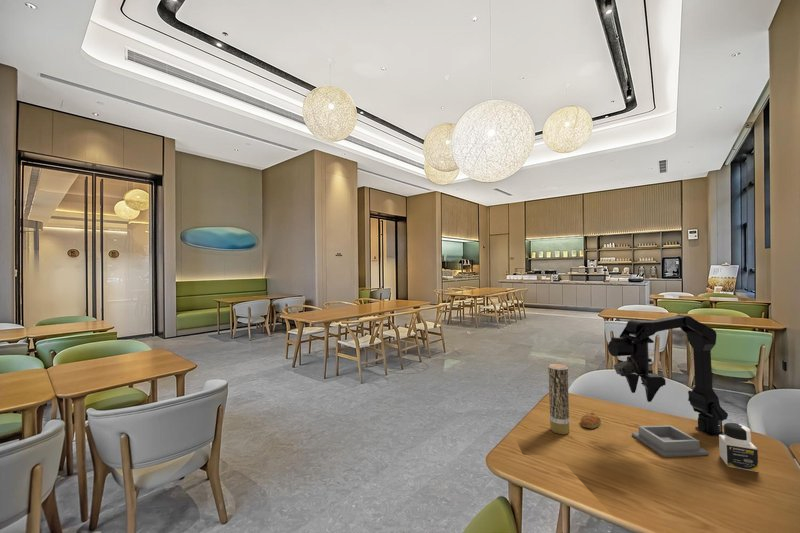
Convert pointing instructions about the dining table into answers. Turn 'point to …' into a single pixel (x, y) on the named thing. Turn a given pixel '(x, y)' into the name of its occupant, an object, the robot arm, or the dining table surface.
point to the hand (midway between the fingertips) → (641, 397)
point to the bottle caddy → (669, 441)
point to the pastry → (590, 420)
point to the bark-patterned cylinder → (559, 398)
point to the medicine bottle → (738, 447)
